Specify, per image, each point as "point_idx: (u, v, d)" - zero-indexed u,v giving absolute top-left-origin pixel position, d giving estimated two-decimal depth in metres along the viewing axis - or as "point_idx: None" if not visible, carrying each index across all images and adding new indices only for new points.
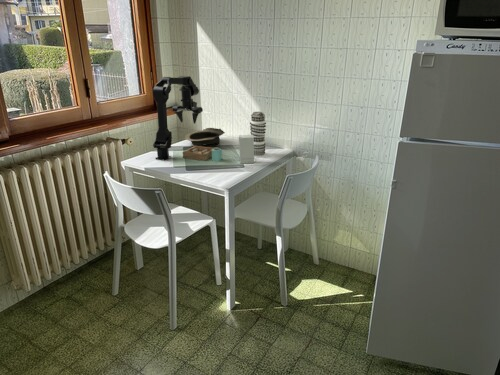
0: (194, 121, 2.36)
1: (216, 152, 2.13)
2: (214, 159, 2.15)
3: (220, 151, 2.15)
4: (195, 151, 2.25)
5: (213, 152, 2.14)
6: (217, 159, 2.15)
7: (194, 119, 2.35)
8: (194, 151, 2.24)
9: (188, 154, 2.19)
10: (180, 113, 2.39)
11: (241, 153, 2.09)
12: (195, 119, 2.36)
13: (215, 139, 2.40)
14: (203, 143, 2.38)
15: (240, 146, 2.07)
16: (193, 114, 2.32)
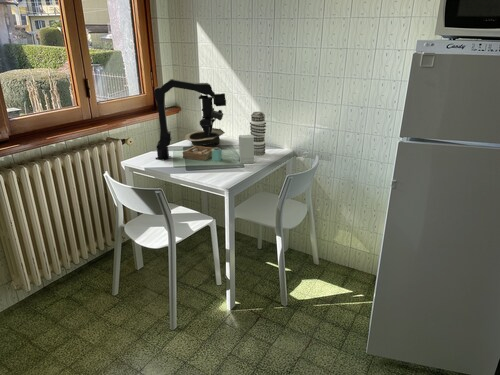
0: (205, 133, 2.14)
1: (216, 152, 2.13)
2: (214, 159, 2.15)
3: (220, 151, 2.15)
4: (195, 151, 2.25)
5: (213, 152, 2.14)
6: (217, 159, 2.15)
7: (204, 131, 2.13)
8: (194, 151, 2.24)
9: (188, 154, 2.19)
10: None
11: (241, 153, 2.09)
12: (206, 131, 2.13)
13: (215, 139, 2.40)
14: (203, 143, 2.38)
15: (240, 146, 2.07)
16: None
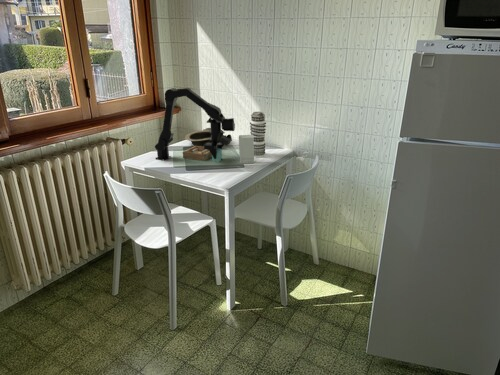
0: None
1: None
2: (214, 159, 2.15)
3: (220, 151, 2.15)
4: (195, 151, 2.25)
5: None
6: (217, 159, 2.15)
7: None
8: (194, 151, 2.24)
9: (188, 154, 2.19)
10: (218, 146, 2.17)
11: (241, 153, 2.09)
12: (213, 154, 2.13)
13: None
14: (203, 143, 2.38)
15: (240, 146, 2.07)
16: None
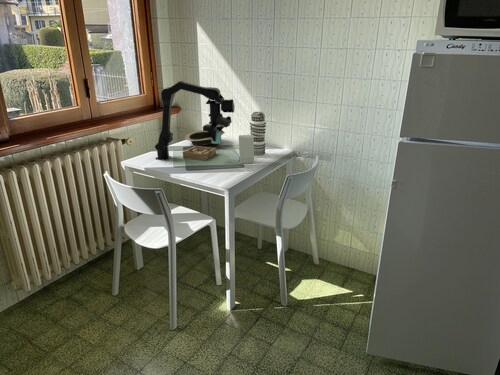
0: (212, 138, 2.10)
1: None
2: (213, 142, 2.12)
3: (220, 133, 2.11)
4: (195, 151, 2.25)
5: None
6: (216, 141, 2.11)
7: None
8: (194, 151, 2.24)
9: (188, 154, 2.19)
10: (217, 129, 2.13)
11: (241, 153, 2.09)
12: (213, 137, 2.09)
13: None
14: (203, 143, 2.38)
15: (240, 146, 2.07)
16: None
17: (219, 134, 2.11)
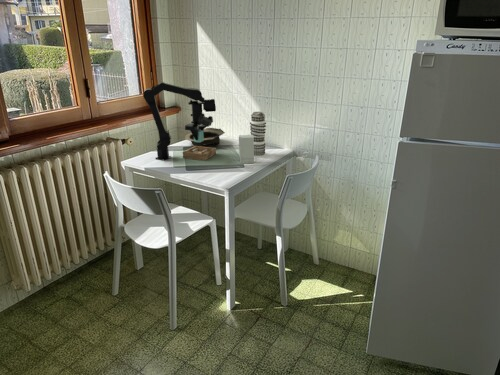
0: (194, 137, 2.18)
1: (198, 133, 2.17)
2: (196, 140, 2.20)
3: (202, 132, 2.19)
4: (195, 151, 2.25)
5: None
6: (199, 140, 2.19)
7: (193, 135, 2.18)
8: (194, 151, 2.24)
9: (188, 154, 2.19)
10: (199, 128, 2.21)
11: (241, 153, 2.09)
12: (195, 135, 2.17)
13: (215, 139, 2.40)
14: (203, 143, 2.38)
15: (240, 146, 2.07)
16: None
17: (201, 133, 2.19)
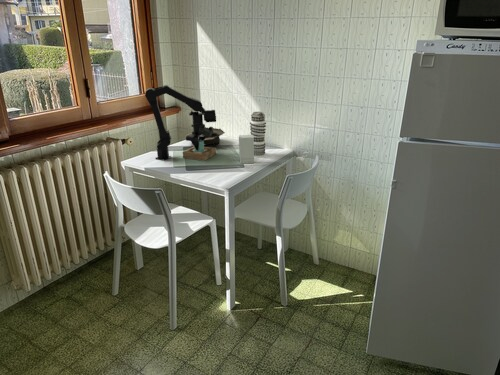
0: (195, 147, 2.21)
1: None
2: (196, 150, 2.22)
3: (202, 143, 2.22)
4: None
5: None
6: (199, 150, 2.21)
7: None
8: (194, 151, 2.24)
9: (188, 154, 2.19)
10: (200, 138, 2.23)
11: (241, 153, 2.09)
12: (195, 146, 2.20)
13: (215, 139, 2.40)
14: None
15: (240, 146, 2.07)
16: None
17: (202, 143, 2.21)
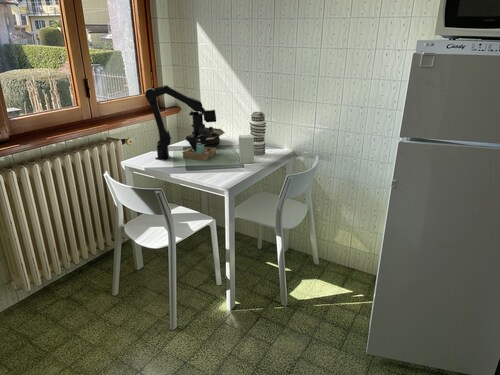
0: None
1: (198, 147, 2.21)
2: None
3: (202, 146, 2.22)
4: None
5: None
6: None
7: None
8: (194, 151, 2.24)
9: (188, 154, 2.19)
10: (202, 137, 2.25)
11: (241, 153, 2.09)
12: (193, 147, 2.18)
13: (215, 139, 2.40)
14: None
15: (240, 146, 2.07)
16: None
17: (202, 147, 2.22)
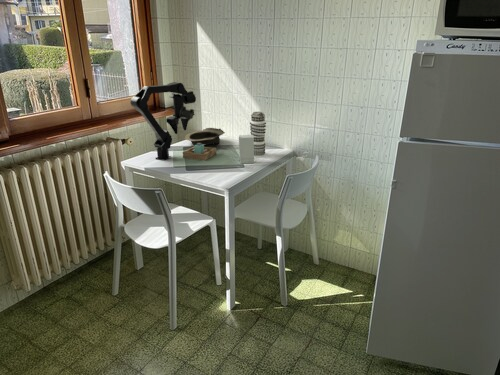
0: None
1: (198, 147, 2.21)
2: None
3: (202, 146, 2.22)
4: None
5: (196, 147, 2.21)
6: None
7: None
8: (194, 151, 2.24)
9: (188, 154, 2.19)
10: (184, 120, 2.27)
11: (241, 153, 2.09)
12: (174, 129, 2.19)
13: (215, 139, 2.40)
14: (203, 143, 2.38)
15: (240, 146, 2.07)
16: None
17: (202, 147, 2.22)
